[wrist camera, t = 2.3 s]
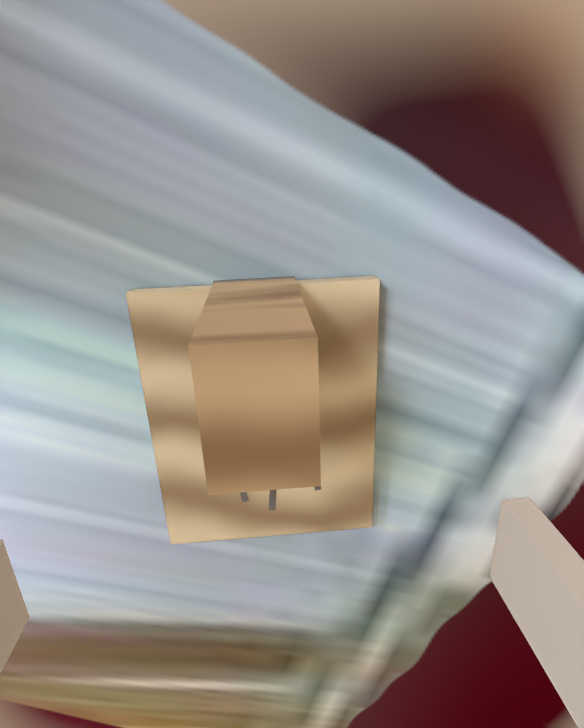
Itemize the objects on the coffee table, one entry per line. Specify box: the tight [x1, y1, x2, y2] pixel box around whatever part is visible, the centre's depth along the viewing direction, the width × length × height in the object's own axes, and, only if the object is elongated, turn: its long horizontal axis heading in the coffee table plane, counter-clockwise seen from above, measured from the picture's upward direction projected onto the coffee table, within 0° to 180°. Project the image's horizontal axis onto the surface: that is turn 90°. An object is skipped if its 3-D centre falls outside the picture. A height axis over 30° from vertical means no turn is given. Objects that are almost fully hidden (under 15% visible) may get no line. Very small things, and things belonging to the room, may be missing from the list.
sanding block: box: [188, 276, 321, 495], centre depth 25 cm, size 7×5×12 cm
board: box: [126, 276, 380, 544], centre depth 33 cm, size 20×16×1 cm
